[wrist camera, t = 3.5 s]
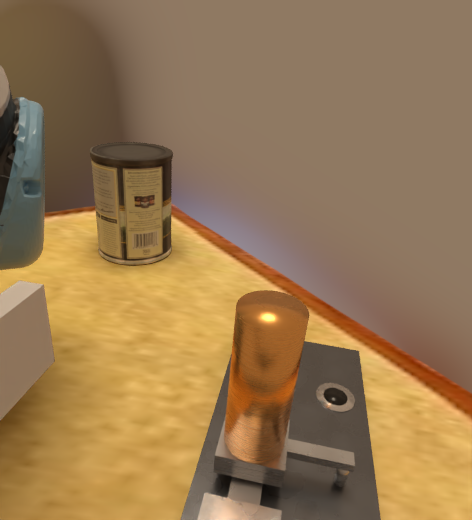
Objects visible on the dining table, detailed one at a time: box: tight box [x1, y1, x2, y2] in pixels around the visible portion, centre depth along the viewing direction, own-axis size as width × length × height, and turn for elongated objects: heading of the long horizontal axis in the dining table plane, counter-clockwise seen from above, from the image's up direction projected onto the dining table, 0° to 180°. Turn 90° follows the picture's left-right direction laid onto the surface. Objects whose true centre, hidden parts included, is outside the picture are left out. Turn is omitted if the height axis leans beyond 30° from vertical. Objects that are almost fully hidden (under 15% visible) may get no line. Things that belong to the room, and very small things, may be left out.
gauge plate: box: [181, 341, 381, 520], centre depth 30 cm, size 12×24×4 cm, turn 169°
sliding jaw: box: [213, 291, 355, 488], centre depth 25 cm, size 9×4×12 cm, turn 79°
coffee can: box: [90, 142, 173, 265], centre depth 56 cm, size 10×10×14 cm
